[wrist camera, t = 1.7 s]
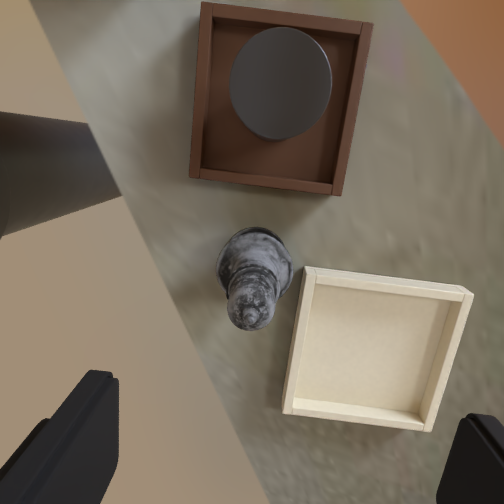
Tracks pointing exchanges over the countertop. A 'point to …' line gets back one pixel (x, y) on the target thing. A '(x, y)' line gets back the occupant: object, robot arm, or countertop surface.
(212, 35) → the dark tray
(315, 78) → the dark gray cylinder
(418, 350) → the light tray
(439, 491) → the robot arm
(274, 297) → the marbled chess pawn
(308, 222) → the countertop surface
